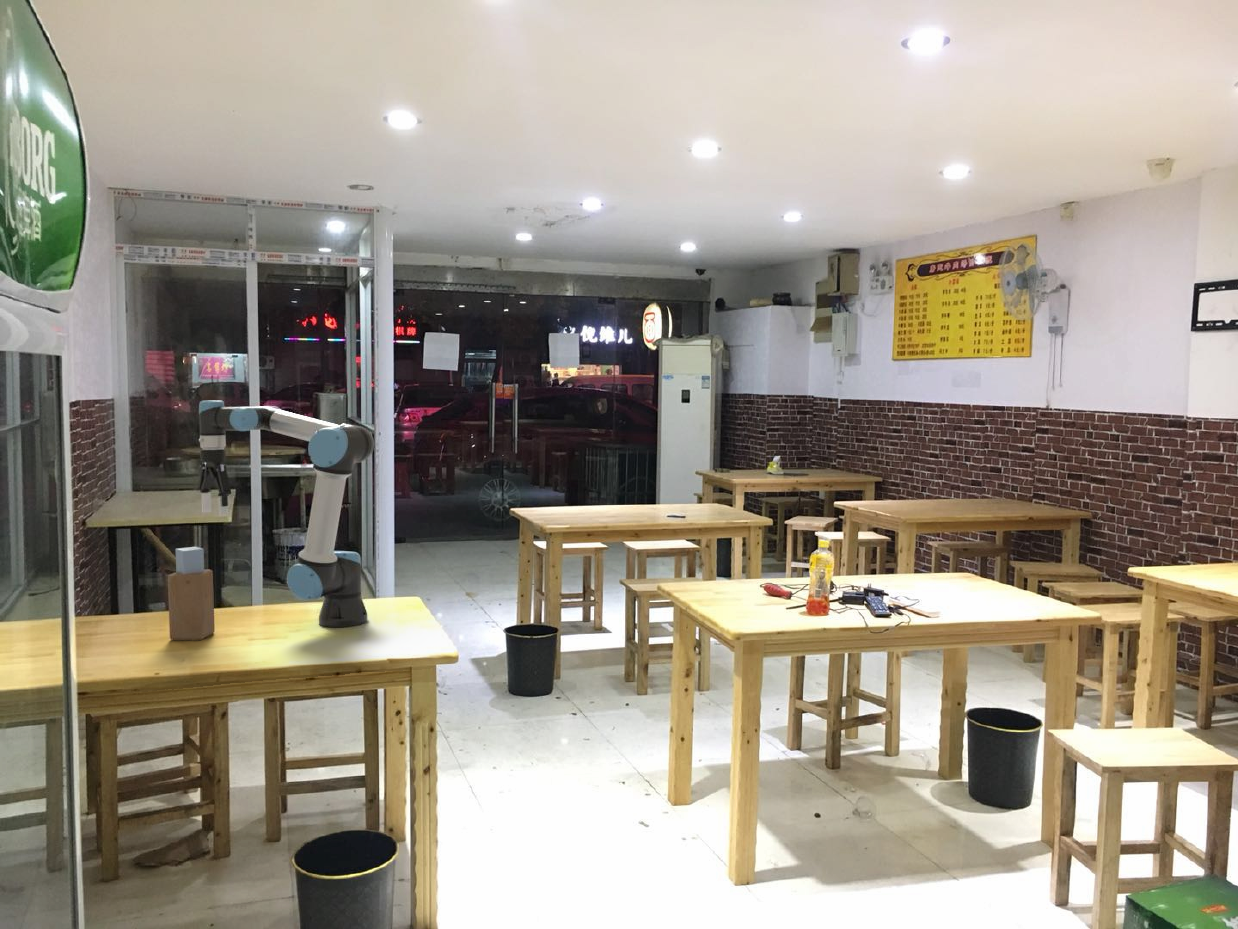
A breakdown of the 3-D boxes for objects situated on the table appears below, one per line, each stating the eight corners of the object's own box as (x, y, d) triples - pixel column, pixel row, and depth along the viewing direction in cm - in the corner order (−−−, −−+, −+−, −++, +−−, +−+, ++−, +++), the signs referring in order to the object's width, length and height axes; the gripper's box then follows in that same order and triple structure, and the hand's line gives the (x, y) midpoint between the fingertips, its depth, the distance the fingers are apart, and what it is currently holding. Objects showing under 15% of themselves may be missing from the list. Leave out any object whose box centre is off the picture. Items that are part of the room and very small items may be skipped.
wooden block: (201, 641, 290) (199, 574, 289) (168, 641, 291) (166, 574, 289) (216, 632, 300) (214, 568, 299) (183, 632, 301) (181, 568, 299)
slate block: (196, 569, 298) (195, 546, 298) (204, 571, 294) (203, 548, 293) (176, 571, 294) (175, 548, 294) (183, 574, 290) (183, 551, 289)
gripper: (185, 447, 318) (188, 512, 320) (217, 450, 300) (219, 519, 302) (209, 446, 323) (211, 510, 325) (241, 449, 306) (243, 517, 307)
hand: (215, 514), depth 313 cm, fingers open, 13 cm apart
